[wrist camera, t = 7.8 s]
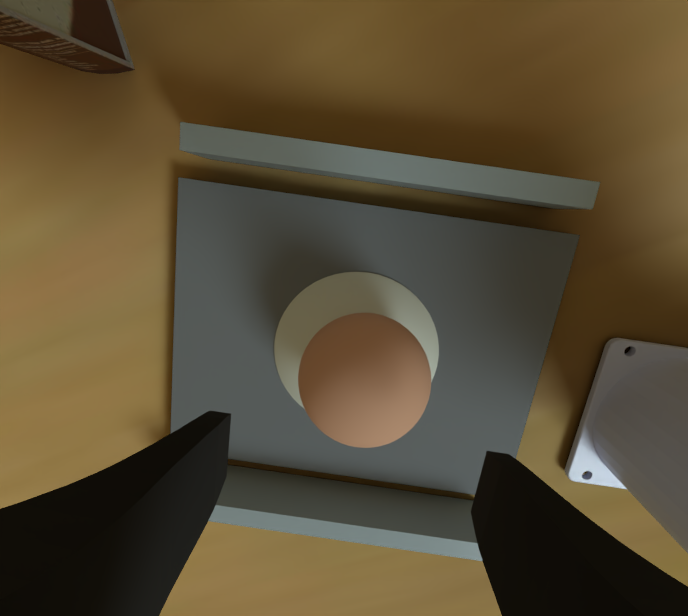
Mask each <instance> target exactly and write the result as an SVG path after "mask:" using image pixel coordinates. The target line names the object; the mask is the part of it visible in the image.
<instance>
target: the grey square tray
mask: <svg viewBox="0 0 688 616" xmlns="http://www.w3.org/2000/svg"><path fill="white" fill-rule="evenodd" d="M180 150H182V151H185V152H188V153H191V154H194V155H198V156H201V157H204V158H207V159H212V160H219V161H226V162H233V163H240V164H247V165H254V166H261V167H268V168H275V169H282V170H289V171H296V172H303V173H310V174H317V175H324V176H330V177H337V178H344V179H351V180H358V181H365V182H372V183H379V184H386V185H393V186H400V187H407V188H414V189H421V190H428V191H435V192H442V193H449V194H455V195H462V196H469V197H476V198H483V199H490V200H497V201H504V202H511V203H518V204H525V205H532V206H539V207H546V208H553V209H593V206H594V202H595V199H596V196H597V192H598V189H599V185H600V182H595V181H588V180H581V179H574V178H567V177H561V176H554V175H547V174H540V173H533V172H526V171H519V170H512V169H505V168H498V167H491V166H484V165H477V164H470V163H463V162H456V161H449V160H442V159H435V158H428V157H421V156H414V155H408V154H401V153H394V152H387V151H380V150H373V149H366V148H359V147H352V146H345V145H338V144H331V143H324V142H317V141H310V140H303V139H296V138H289V137H282V136H275V135H268V134H261V133H255V132H248V131H241V130H234V129H227V128H220V127H213V126H206V125H199V124H192V123H185V122H180ZM472 505H473V500H466V499H459V498H452V497H445V496H438V495H432V494H425V493H418V492H411V491H404V490H397V489H390V488H384V487H377V486H370V485H363V484H356V483H349V482H342V481H336V480H329V479H322V478H315V477H308V476H301V475H294V474H288V473H281V472H274V471H267V470H260V469H253V468H246V467H240V466H233V465H227V477H226V479H225V482H224V485H223V487H222V490H221V493H220V495H219V498H218V500H217V503H216V505H215V508H214V510H213V512H212V514H211V516H210V518H209V520H208V521H212V522H219V523H225V524H232V525H239V526H246V527H253V528H260V529H266V530H273V531H280V532H287V533H294V534H301V535H307V536H314V537H321V538H328V539H335V540H342V541H349V542H355V543H362V544H369V545H376V546H383V547H390V548H396V549H403V550H410V551H417V552H424V553H431V554H437V555H444V556H451V557H458V558H465V559H472V560H479V561H483V560H482V557H481V554H480V551H479V548H478V544H477V539H476V535H475V531H474V526H473V521H472V516H471V509H472Z"/></svg>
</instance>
